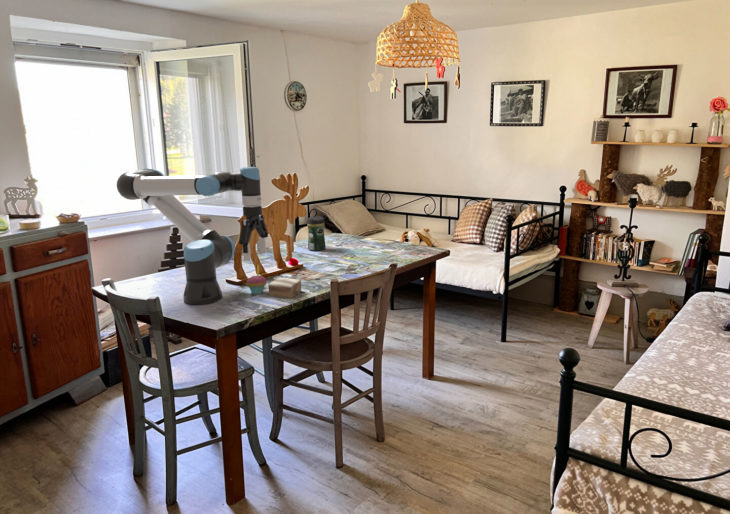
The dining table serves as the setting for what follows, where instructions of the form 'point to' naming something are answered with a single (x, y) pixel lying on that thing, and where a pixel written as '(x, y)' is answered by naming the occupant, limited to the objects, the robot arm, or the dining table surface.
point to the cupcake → (256, 283)
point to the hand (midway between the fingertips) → (255, 256)
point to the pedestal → (284, 287)
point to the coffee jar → (316, 233)
